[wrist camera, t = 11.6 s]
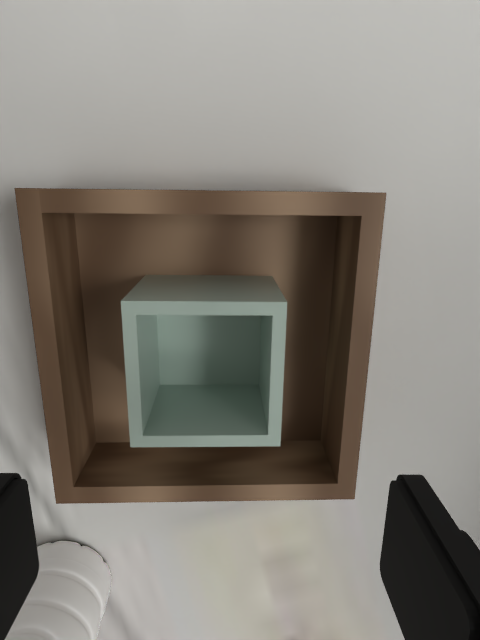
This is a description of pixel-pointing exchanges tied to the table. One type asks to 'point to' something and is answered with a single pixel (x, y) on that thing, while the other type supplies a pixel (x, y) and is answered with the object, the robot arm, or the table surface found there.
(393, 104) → the table surface
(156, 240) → the big crate
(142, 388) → the small crate
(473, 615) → the robot arm
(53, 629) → the water bottle
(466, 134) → the table surface
